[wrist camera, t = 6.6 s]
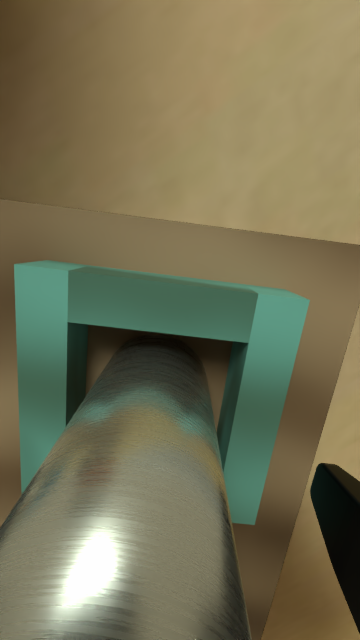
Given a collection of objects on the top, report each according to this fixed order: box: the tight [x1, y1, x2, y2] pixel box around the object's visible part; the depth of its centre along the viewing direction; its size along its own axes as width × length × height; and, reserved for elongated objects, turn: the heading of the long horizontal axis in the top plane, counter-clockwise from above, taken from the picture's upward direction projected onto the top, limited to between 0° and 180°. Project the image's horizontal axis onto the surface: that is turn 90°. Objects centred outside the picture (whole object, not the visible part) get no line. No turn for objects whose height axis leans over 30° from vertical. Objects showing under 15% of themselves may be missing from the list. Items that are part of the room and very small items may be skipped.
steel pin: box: [0, 335, 252, 640], centre depth 6 cm, size 4×4×10 cm
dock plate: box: [0, 199, 360, 640], centre depth 12 cm, size 24×14×3 cm, turn 173°
